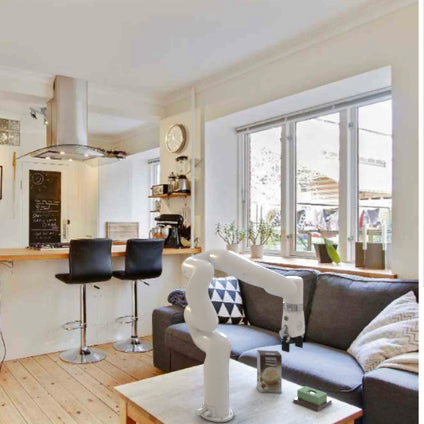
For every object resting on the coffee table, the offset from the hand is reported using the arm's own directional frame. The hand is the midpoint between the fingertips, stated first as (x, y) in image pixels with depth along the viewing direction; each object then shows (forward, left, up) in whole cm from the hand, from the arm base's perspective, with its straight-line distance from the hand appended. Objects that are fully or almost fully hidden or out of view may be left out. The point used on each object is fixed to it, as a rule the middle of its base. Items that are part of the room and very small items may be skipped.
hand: (292, 349), depth 171 cm
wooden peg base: (+5, -6, -21) cm, 22 cm away
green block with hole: (+5, -6, -20) cm, 21 cm away
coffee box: (+2, +12, -21) cm, 25 cm away
